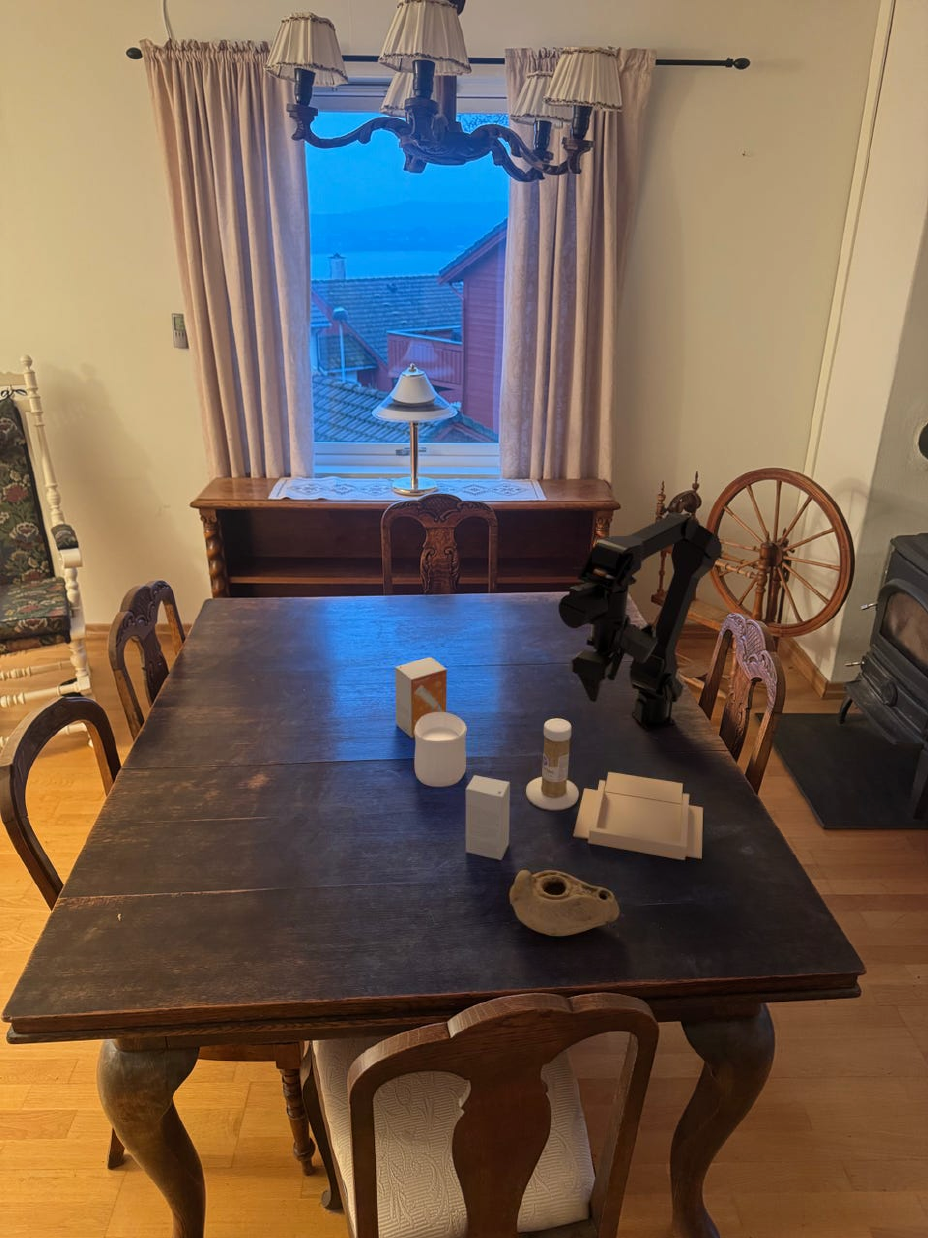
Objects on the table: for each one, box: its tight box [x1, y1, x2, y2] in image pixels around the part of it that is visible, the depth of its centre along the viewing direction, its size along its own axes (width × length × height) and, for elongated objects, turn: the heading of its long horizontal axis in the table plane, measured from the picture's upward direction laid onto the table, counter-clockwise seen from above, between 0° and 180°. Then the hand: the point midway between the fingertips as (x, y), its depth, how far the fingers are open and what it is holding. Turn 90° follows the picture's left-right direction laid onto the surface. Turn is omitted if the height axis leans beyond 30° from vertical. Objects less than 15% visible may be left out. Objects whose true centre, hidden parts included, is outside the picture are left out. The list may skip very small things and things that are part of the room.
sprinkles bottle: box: [541, 717, 572, 798], centre depth 143 cm, size 5×5×14 cm
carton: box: [573, 771, 704, 861], centre depth 141 cm, size 20×20×2 cm
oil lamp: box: [509, 869, 620, 937], centre depth 118 cm, size 11×15×8 cm
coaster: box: [525, 776, 580, 811], centre depth 146 cm, size 9×9×1 cm
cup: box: [414, 711, 468, 788], centre depth 150 cm, size 10×10×10 cm
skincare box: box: [465, 774, 511, 861], centre depth 131 cm, size 6×4×12 cm
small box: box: [394, 656, 448, 739], centre depth 163 cm, size 8×6×13 cm
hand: (602, 690), depth 153 cm, fingers open, 9 cm apart
